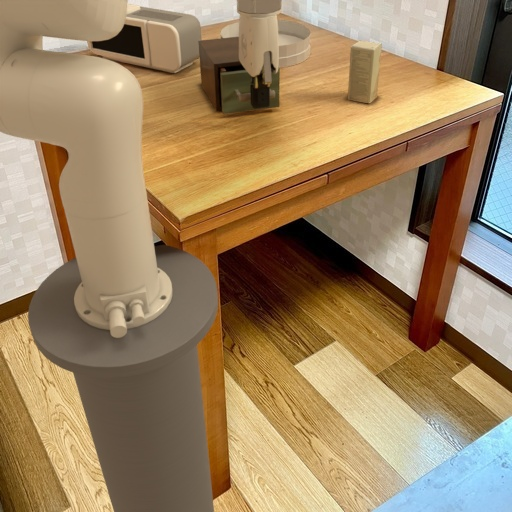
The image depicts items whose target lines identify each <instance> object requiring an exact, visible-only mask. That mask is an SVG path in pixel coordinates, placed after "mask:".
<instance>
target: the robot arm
mask: <svg viewBox="0 0 512 512" xmlns="http://www.w3.org/2000/svg"><path fill="white" fill-rule="evenodd" d="M128 1H129V0H0V133H2V134H4V135H8V136H10V137H15V138H20V139H22V140H23V139H24V140H28V141H35V142H39V143H45V144H48V145H49V144H50V145H53V146H57V147H62V148H64V149H65V150H66V151H67V152H68V159H67V162H66V164H65V165H64V167H63V168H62V171H61V173H60V176H59V180H58V181H59V183H58V188H59V195H60V199H61V203H62V207H63V209H64V214H65V218H66V223H67V226H68V230H69V234H70V238H71V243H72V247H73V250H74V254H75V258H76V259H77V263H78V267H79V271H80V275H81V279H82V282H81V283H80V285H79V286H78V288H77V290H76V292H75V296H74V304H75V308H76V311H77V313H78V315H79V317H80V318H81V319H82V320H83V321H84V322H86V323H88V324H89V325H91V326H94V327H97V328H100V329H105V330H110V333H111V335H112V336H113V337H116V338H120V337H123V336H125V334H126V333H127V329H131V328H135V327H138V326H141V325H144V324H146V323H148V322H150V321H152V320H154V319H155V318H157V317H158V316H159V315H161V314H162V313H163V312H164V311H165V310H166V308H167V307H168V305H169V304H170V302H171V299H172V292H173V290H172V283H171V281H170V278H169V277H168V275H167V274H166V273H165V272H164V271H162V270H161V269H159V268H157V262H156V255H155V248H154V246H155V242H154V234H153V229H152V222H151V221H152V220H151V214H150V207H149V199H148V193H147V187H146V179H145V173H144V162H143V145H142V144H143V140H142V139H143V120H144V96H143V95H144V94H143V90H142V87H141V85H140V82H139V81H138V79H137V77H136V76H135V75H134V74H133V73H132V72H131V71H130V70H129V69H128V68H127V67H125V66H123V65H122V64H120V63H119V62H117V61H115V60H111V59H106V58H103V57H99V56H95V55H87V54H80V53H73V52H65V51H53V50H47V49H46V50H45V49H43V48H44V47H43V46H44V45H43V43H44V42H43V40H44V39H43V37H46V38H54V39H64V40H70V41H72V40H73V41H82V42H87V41H103V40H108V39H111V38H113V37H115V36H116V35H117V34H118V33H119V32H120V31H121V30H122V28H123V26H124V23H125V20H126V14H127V4H129V2H128ZM282 1H283V0H236V13H237V14H238V15H239V19H238V22H239V60H240V62H241V64H242V65H243V67H244V68H245V69H246V71H247V72H248V73H249V74H250V82H251V84H253V85H250V94H251V105H252V107H253V108H254V109H256V108H264V107H269V105H270V84H271V83H272V78H271V72H272V73H273V74H276V73H277V72H278V64H279V42H278V22H277V19H278V16H279V15H280V14H281V13H282V10H283V9H282V7H283V6H282V5H283V2H282Z"/></svg>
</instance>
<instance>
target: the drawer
mask: <svg viewBox="0 0 512 512" xmlns="http://www.w3.org/2000/svg"><path fill="white" fill-rule="evenodd" d="M280 69H281V68H279V67H278V72H277V73H276V74H273V73H272V72H271V78H272V83H271V84H270V105H269V107H264V108H256V109H254V108H253V107H252V105H251V94H250V85H253V84H251V82H250V74H249V73H248V72H247V71H246V69H245V68H244V67H243V65H236V66H227V67H218V77H219V96H220V101H221V103H222V111H221V112H222V114H223V115H226V114H227V115H228V114H234V113H236V114H237V113H242V112H249V111H250V112H252V111H259V110H266V109H274V108H280V84H281V83H280V78H281V77H280V76H281V73H280V72H281V71H280Z"/></svg>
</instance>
